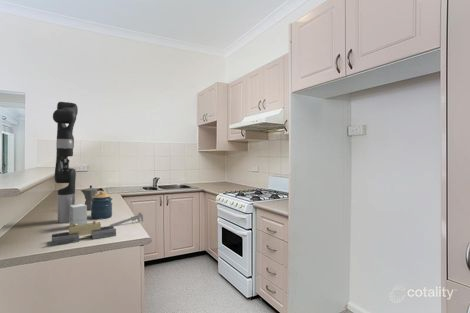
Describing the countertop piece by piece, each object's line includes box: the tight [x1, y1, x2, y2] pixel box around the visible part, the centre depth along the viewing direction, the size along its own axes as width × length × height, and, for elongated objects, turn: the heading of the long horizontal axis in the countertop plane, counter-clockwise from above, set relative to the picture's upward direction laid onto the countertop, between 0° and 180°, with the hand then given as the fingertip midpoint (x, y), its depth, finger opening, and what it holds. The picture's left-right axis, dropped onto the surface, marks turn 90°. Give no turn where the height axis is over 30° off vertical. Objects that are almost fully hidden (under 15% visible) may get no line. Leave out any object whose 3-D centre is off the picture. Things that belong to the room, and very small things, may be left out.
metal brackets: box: [51, 225, 117, 247], centre depth 135 cm, size 8×28×4 cm, turn 125°
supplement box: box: [69, 203, 88, 226], centre depth 155 cm, size 7×7×13 cm
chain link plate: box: [68, 220, 102, 237], centre depth 135 cm, size 3×14×6 cm, turn 125°
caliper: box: [109, 211, 144, 227], centre depth 162 cm, size 20×1×6 cm, turn 129°
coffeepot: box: [80, 185, 105, 212], centre depth 200 cm, size 15×9×18 cm, turn 118°
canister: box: [90, 191, 113, 220], centre depth 178 cm, size 13×13×18 cm
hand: (64, 177), depth 143 cm, fingers open, 8 cm apart
